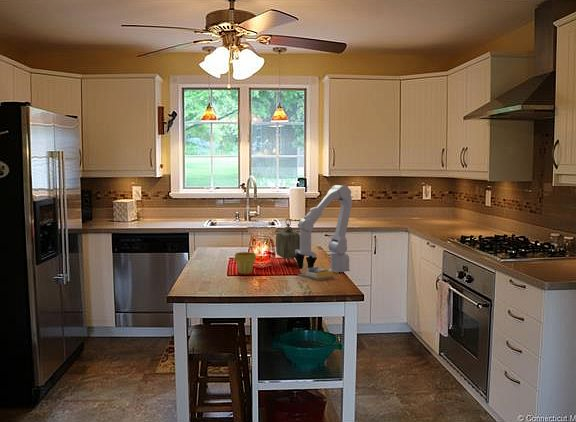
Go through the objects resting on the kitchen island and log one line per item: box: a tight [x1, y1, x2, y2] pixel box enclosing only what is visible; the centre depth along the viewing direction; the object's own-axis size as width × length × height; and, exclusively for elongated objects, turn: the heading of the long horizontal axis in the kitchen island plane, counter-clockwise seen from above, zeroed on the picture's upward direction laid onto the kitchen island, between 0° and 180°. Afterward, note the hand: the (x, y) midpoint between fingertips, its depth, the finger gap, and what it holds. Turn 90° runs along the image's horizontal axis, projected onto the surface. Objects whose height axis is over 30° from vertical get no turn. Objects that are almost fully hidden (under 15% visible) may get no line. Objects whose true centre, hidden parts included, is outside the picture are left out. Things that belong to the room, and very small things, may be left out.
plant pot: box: [234, 251, 257, 275], centre depth 271 cm, size 10×10×10 cm
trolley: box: [306, 265, 329, 274], centre depth 261 cm, size 6×9×4 cm
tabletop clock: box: [275, 218, 300, 266], centre depth 296 cm, size 14×9×25 cm, turn 22°
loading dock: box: [297, 271, 335, 281], centre depth 263 cm, size 10×16×4 cm, turn 37°
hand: (305, 269), depth 269 cm, fingers open, 7 cm apart
